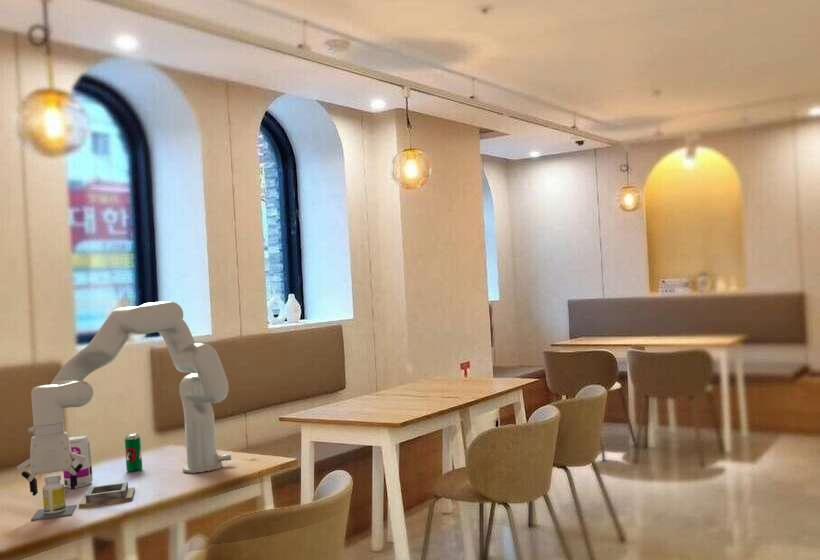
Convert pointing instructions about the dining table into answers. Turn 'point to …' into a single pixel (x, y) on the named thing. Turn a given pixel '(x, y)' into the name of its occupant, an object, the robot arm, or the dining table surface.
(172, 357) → the robot arm
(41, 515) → the mat
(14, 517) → the dining table surface
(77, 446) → the supplement can
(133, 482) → the dining table surface
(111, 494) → the block
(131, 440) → the soda can
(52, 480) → the supplement bottle
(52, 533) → the dining table surface
